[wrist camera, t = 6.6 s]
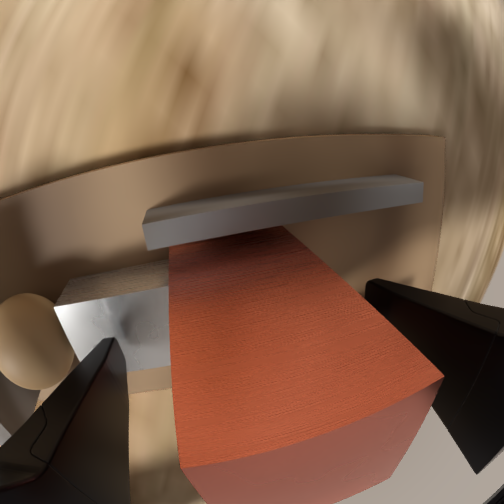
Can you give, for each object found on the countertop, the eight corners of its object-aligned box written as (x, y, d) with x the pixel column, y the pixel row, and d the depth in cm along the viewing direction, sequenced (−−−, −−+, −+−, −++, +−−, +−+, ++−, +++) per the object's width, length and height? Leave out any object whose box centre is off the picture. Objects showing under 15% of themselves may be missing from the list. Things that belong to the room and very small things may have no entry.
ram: (100, 352, 11) (78, 534, 4) (65, 266, 9) (-31, 456, 2) (286, 316, 12) (389, 477, 5) (281, 224, 11) (444, 376, 4)
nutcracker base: (23, 386, 12) (0, 455, 8) (-53, 221, 8) (-119, 265, 4) (414, 303, 17) (470, 349, 12) (428, 135, 13) (510, 149, 8)
